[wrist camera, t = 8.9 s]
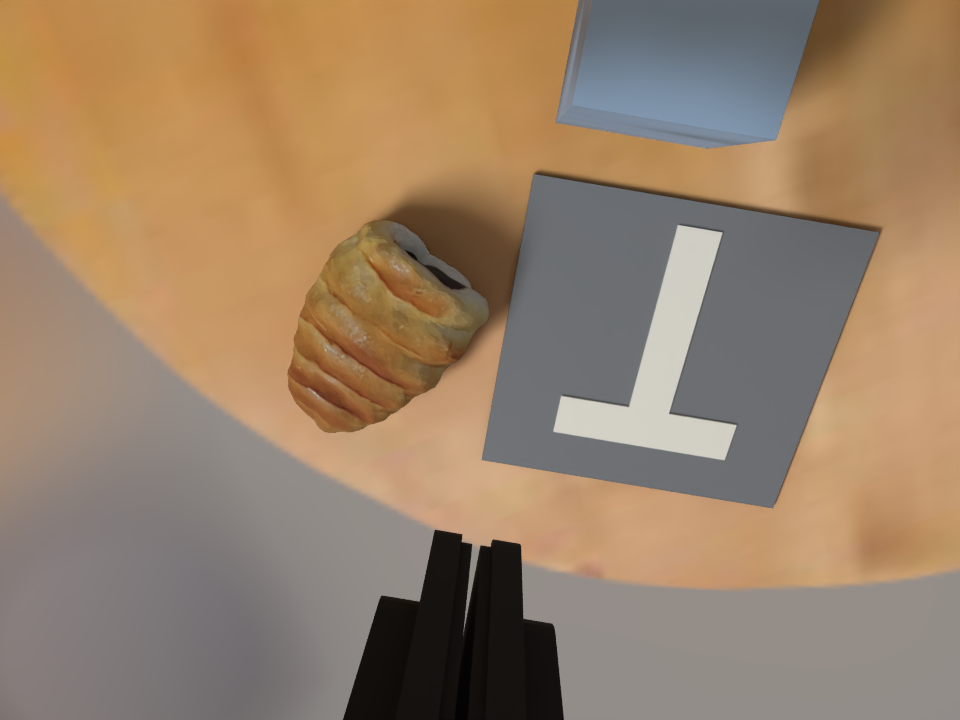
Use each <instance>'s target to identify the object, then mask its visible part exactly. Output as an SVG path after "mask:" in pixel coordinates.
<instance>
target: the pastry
mask: <svg viewBox="0 0 960 720" xmlns="http://www.w3.org/2000/svg"><path fill="white" fill-rule="evenodd" d="M489 314H490V311H489V307H488V302H487V300H486V299H485V298H484V297H483V296H481V295H480V294H479V293H477V292H476V291H474V290H473V289H472V287H471V284H470V282H469V281H468V280H467V279H466V278H465V276H464V275H462V274H461V273H460V272H459V271H458V270H457V269H455V268H453V267H451V266H449V265H447V264H446V263H445V262H444V261H442V260H441V259H439V258H437V257H435V256H433V255H431V254H430V253H429V251H428V250H427V249H426V246H425V244H424V243H423V241H422V240H421V239H420V238H419V237H418V236H417V235H416V234H414V233H413V232H411V231H410V230H409V229H407V228H406V227H405V226H404V225H402V224H399V223H396V222H392V221H388V220H378V221H372V222H369V223H367V224H364V226H363V227H362V228H361V230H360V231H359V232H358V233H357V234H355V235H354V236H352V237H350V238H348V239H347V240H345V241H343V242H342V243H341V244H339V245H338V246H337V247H336V248H335V250H334V251H333V252H332V253H331V255H330V258H329V260H328V262H327V263H326V264H325V266H324V268H323V270H322V272H321V274H320V275H319V278H318V280H317V281H316V283H315V284H314V285H313V286H312V288H311V289H310V290H309V292H308V293H307V295H306V301H305V305H304V307H303V309H302V311H301V313H300V316H299V319H298V330H297V332H296V334H295V337H294V354H293V358H292V362H291V365H290V367H289V369H288V387H289V390H290V392H291V394H292V396H293V398H294V400H295V402H296V404H297V405H298V406H299V407H300V408H301V409H302V410H303V411H304V412H305V413H306V414H307V415H308V416H310V417H311V418H312V419H313V420H314V421H315V423H316V425H317V426H318V427H319V428H320V429H321V430H323V431H324V432H328V433H336V432H354V431H359V430H361V429H363V428H365V427H366V426H368V425H370V424H374V423H377V422H381V421H384V420H385V419H386V418H387V417H388V416H389V415H390V414H393V413H395V412H397V411H398V410H399V409H400V408H402V407H404V406H405V405H406V404H408V403H409V402H410V401H411V399H412V398H414V397H415V396H417V395H419V394H422V393H425V392H427V391H429V390H430V389H433V388H435V386H436V385H437V384H438V382H439V380H440V378H441V375H442V373H443V372H444V371H445V370H446V368H447V367H448V366H449V365H450V364H451V363H454V362H456V361H457V360H458V359H459V358H460V357H461V356H462V355H463V354H464V352H465V351H466V349H467V347H468V345H469V343H470V340H471V338H472V337H473V335H474V334H475V332H476V331H477V330H478V328H479V327H480V326H482V325H483V324H485V323H486V322H487V321H488V319H489Z"/></svg>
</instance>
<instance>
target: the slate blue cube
mask: <svg viewBox="0 0 960 720" xmlns="http://www.w3.org/2000/svg"><path fill="white" fill-rule="evenodd" d="M819 1H820V0H579V2H578V8H577V13H576V18H575V23H574V29H573V34H572V39H571V44H570V50H569V55H568V60H567V66H566V71H565V76H564V81H563V87H562V92H561V97H560V102H559V108H558V113H557V118H556V123H560V124H566V125H572V126H578V127H584V128H589V129H595V130H601V131H607V132H613V133H619V134H624V135H630V136H636V137H642V138H648V139H654V140H660V141H665V142H671V143H677V144H683V145H689V146H695V147H700V148H706V149H708V148H716V147H724V146H732V145H740V144H748V143H756V142H764V141H772V140H776V138H777V135H778V132H779V129H780V126H781V122H782V119H783V116H784V113H785V110H786V106H787V103H788V100H789V97H790V94H791V90H792V87H793V84H794V81H795V78H796V74H797V71H798V68H799V65H800V61H801V58H802V55H803V52H804V49H805V45H806V42H807V39H808V36H809V33H810V29H811V26H812V23H813V20H814V17H815V13H816V10H817V7H818V4H819Z"/></svg>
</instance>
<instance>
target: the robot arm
mask: <svg viewBox="0 0 960 720" xmlns="http://www.w3.org/2000/svg"><path fill="white" fill-rule="evenodd" d="M471 551H472V544H469V543H463V542H462V534H457V533H451V532H445V531H439V530H435V532H434V536H433V541H432V546H431V551H430V556H429V560H428V565H427V570H426V575H425V580H424V584H423V589H422V594H421V599H420V602H418V601H412V600H405V599H400V598H394V597H387V596H381V598H380V600H379V603H378V606H377V610H376V613H375V616H374V619H373V623H372V626H371V629H370V633H369V636H368V639H367V642H366V646H365V649H364V653H363V656H362V659H361V663H360V666H359V669H358V672H357V675H356V679H355V682H354V686H353V689H352V692H351V695H350V698H349V702H348V705H347V708H346V712H345V715H344V718H343V720H564V717H563V706H562V697H561V686H560V676H559V666H558V656H557V645H556V635H555V629H554V626H553V624H551V623H544V622H539V621H532V620H527V619H523V593H522V560H521V545H520V544H517V543H511V542H505V541H499V540H492V543H491V547H487V546H480V551H479V556H478V561H477V566H476V571H475V576H474V582H473V587H472V592H471V598H470V603H469V608H468V613H467V618H466V624H465V629H464V620H465V610H466V600H467V590H468V581H469V570H470V560H471ZM463 630H464V634H463Z"/></svg>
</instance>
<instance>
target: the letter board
mask: <svg viewBox="0 0 960 720" xmlns="http://www.w3.org/2000/svg"><path fill="white" fill-rule="evenodd" d="M879 233H880V232H874V231H868V230H862V229H856V228H850V227H844V226H839V225H833V224H827V223H821V222H815V221H809V220H803V219H797V218H791V217H785V216H779V215H773V214H767V213H761V212H756V211H750V210H744V209H738V208H732V207H726V206H720V205H714V204H708V203H702V202H696V201H690V200H684V199H678V198H672V197H667V196H661V195H655V194H649V193H643V192H637V191H631V190H625V189H619V188H613V187H607V186H601V185H595V184H589V183H583V182H578V181H572V180H566V179H560V178H554V177H548V176H542V175H536V174H533V180H532V185H531V191H530V196H529V202H528V208H527V213H526V219H525V224H524V230H523V235H522V241H521V246H520V252H519V257H518V263H517V268H516V274H515V279H514V285H513V290H512V296H511V301H510V307H509V313H508V318H507V324H506V329H505V335H504V340H503V346H502V351H501V357H500V362H499V368H498V373H497V379H496V384H495V390H494V395H493V401H492V406H491V412H490V418H489V423H488V429H487V434H486V440H485V445H484V451H483V456H482V460H485V461H491V462H497V463H503V464H509V465H515V466H521V467H527V468H533V469H539V470H545V471H551V472H557V473H563V474H569V475H575V476H581V477H587V478H593V479H599V480H605V481H611V482H617V483H623V484H629V485H635V486H641V487H647V488H653V489H659V490H665V491H671V492H677V493H683V494H690V495H696V496H702V497H708V498H714V499H720V500H726V501H732V502H738V503H744V504H750V505H756V506H762V507H768V508H773V507H774V504H775V502H776V499H777V496H778V494H779V491H780V489H781V486H782V484H783V481H784V478H785V476H786V473H787V471H788V468H789V465H790V463H791V460H792V458H793V455H794V453H795V450H796V447H797V445H798V442H799V440H800V437H801V434H802V432H803V429H804V427H805V424H806V422H807V419H808V416H809V414H810V411H811V409H812V406H813V403H814V401H815V398H816V396H817V393H818V391H819V388H820V385H821V383H822V380H823V378H824V375H825V372H826V370H827V367H828V365H829V362H830V360H831V357H832V354H833V352H834V349H835V347H836V344H837V341H838V339H839V336H840V334H841V331H842V329H843V326H844V323H845V321H846V318H847V316H848V313H849V310H850V308H851V305H852V303H853V300H854V298H855V295H856V292H857V290H858V287H859V285H860V282H861V279H862V277H863V274H864V272H865V269H866V267H867V264H868V261H869V259H870V256H871V254H872V251H873V248H874V246H875V243H876V241H877V238H878V236H879Z"/></svg>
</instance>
